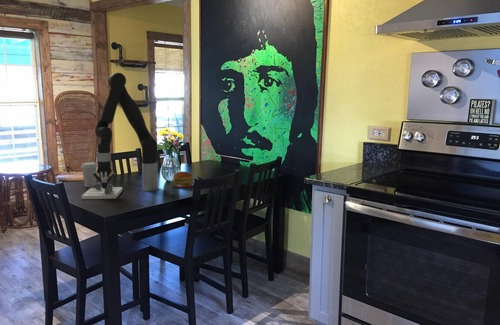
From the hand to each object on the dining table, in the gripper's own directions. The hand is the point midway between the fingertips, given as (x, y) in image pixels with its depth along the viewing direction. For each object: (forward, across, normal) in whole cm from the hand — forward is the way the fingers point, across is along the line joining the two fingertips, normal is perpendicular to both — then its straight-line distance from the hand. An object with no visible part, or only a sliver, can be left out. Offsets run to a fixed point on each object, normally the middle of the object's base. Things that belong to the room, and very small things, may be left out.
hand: (104, 188), depth 248 cm
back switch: (+1, +5, -6) cm, 8 cm away
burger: (+3, -46, -17) cm, 49 cm away
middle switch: (+1, -3, 0) cm, 3 cm away
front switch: (+1, -3, +6) cm, 7 cm away
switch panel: (+4, +1, 0) cm, 4 cm away
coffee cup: (+4, +14, -23) cm, 28 cm away
